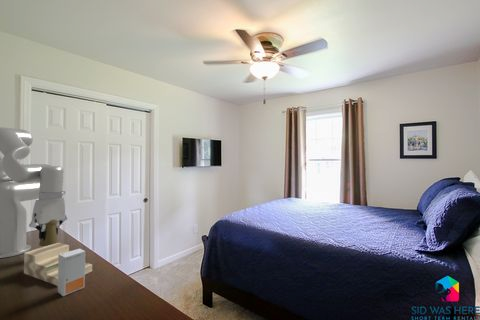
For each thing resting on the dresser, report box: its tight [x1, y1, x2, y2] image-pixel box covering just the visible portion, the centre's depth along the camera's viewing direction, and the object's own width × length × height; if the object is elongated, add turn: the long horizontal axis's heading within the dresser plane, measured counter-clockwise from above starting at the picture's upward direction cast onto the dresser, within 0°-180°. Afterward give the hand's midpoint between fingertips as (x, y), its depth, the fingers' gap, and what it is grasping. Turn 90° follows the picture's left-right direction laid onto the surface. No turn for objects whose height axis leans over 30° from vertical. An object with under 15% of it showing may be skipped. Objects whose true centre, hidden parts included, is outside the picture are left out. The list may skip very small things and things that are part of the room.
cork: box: [38, 220, 59, 247], centre depth 95 cm, size 6×6×11 cm
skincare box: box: [57, 248, 86, 297], centre depth 71 cm, size 6×4×12 cm
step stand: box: [23, 242, 93, 287], centre depth 83 cm, size 21×11×8 cm, turn 67°
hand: (48, 238), depth 95 cm, fingers closed on cork, 3 cm apart
